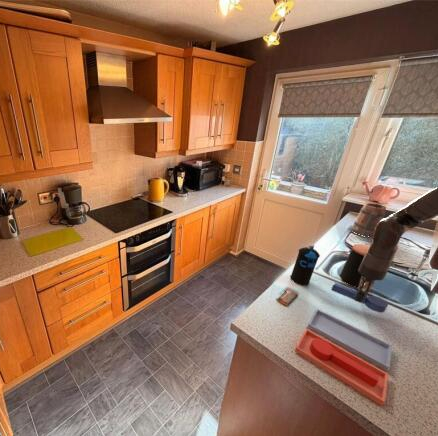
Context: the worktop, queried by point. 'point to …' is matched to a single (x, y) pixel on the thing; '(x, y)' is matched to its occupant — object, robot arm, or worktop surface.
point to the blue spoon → (370, 301)
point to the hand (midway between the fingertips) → (358, 299)
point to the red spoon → (342, 361)
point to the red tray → (372, 392)
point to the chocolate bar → (287, 297)
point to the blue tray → (352, 339)
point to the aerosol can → (304, 265)
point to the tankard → (368, 219)
